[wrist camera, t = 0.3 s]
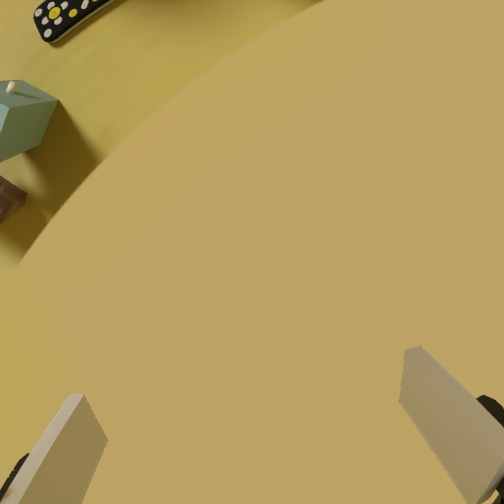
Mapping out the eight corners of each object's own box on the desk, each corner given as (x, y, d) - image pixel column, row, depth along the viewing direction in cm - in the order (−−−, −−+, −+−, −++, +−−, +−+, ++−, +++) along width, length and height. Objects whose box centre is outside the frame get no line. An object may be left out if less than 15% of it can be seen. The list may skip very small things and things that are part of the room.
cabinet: (24, 72, 24) (-28, 75, 15) (62, 92, 26) (13, 97, 18) (-6, 152, 28) (-54, 175, 19) (29, 174, 30) (-18, 203, 22)
